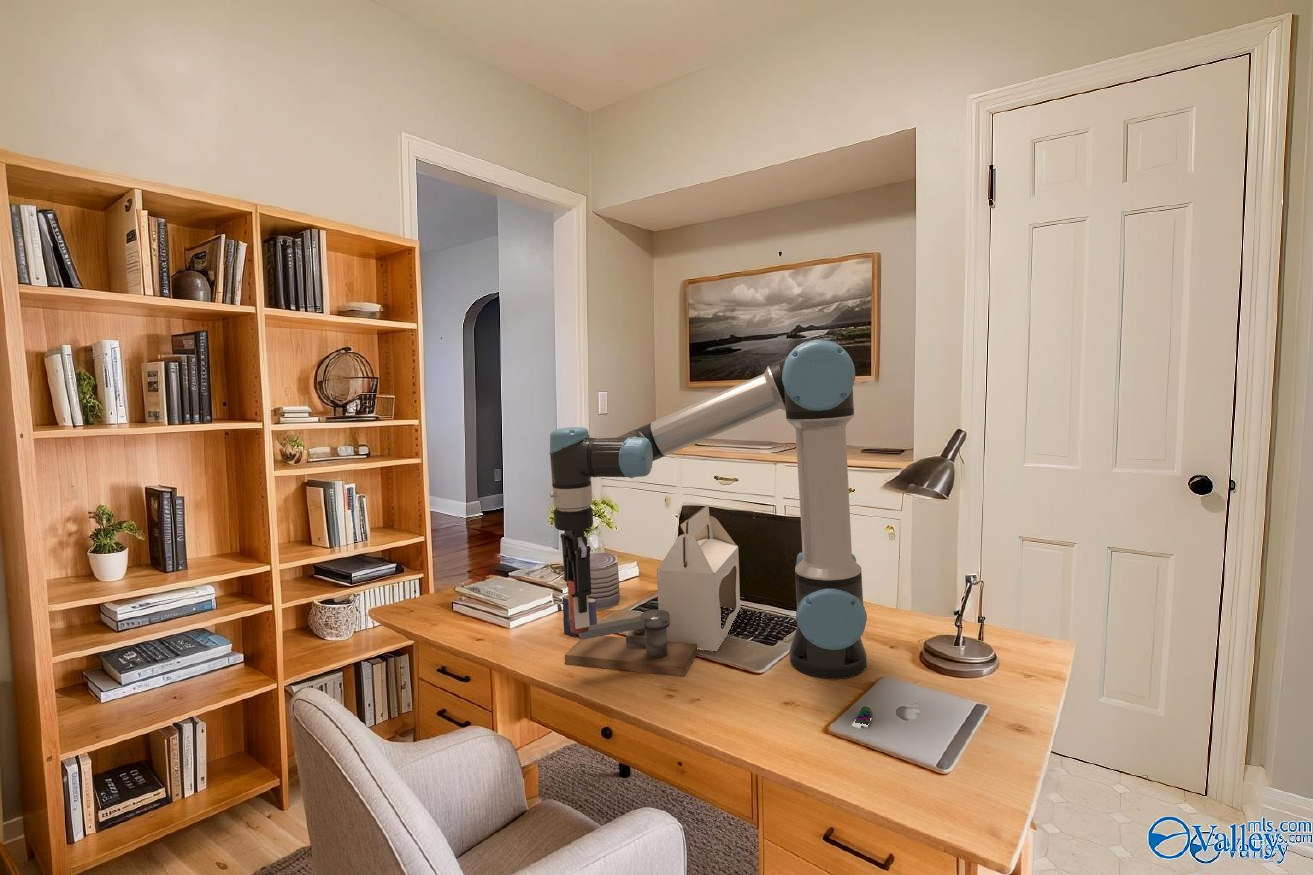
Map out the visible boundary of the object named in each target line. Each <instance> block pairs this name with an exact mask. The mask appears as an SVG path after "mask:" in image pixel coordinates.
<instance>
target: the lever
mask: <svg viewBox="0 0 1313 875" xmlns="http://www.w3.org/2000/svg"><path fill="white" fill-rule="evenodd" d="M571 594H575V589H574V579H570V580H568V587H567V595H569V612H570V629H571V632H572V633H579V637H580V638H579V639H581V640H583V639H589V638H594V637H599V636H611V635H614V634H619V633H624V632H629V631H631V630H636V629H642V628H644V629H647V630H661V629H665V628H667V627H668V626H669V625H670V614H669V613H668V612H667V611H664V610H658V609H651V610H646V611H644V612H642V613H641V614H640V615H639V616H640V617H637V616H635V617H630V618H624V619H623V618H622V619H619V620H613V621H607V622H602V623H597V624H596V625H590V627H585V628H579V629H576V628H575V615H574V598H572V596H571Z"/></svg>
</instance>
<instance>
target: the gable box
mask: <svg viewBox="0 0 1313 875" xmlns="http://www.w3.org/2000/svg"><path fill="white" fill-rule="evenodd" d="M679 527H680V530H681V531H682V533H683V534H680V535H679V536H677V538H676V540H675V541H674V543H672V545H671V547H670V549H669V550H668V553H667V554H666V555H665V557H664V558H663V560H662V562H661V563H660V565H659V567H657V569H656V582H657V606H658V609H657V610H664V611H667V612H668V613H669V614H670V625H669V626H668V627H667V628H666V632H667V641H669V642H680V643H691V644H697V648H701V649H702V648H703V649H710V650H718V648H719V647H720V645H721V643H722V642H723V641H724V642H725V640H724V638H725V637H726V636H727V637H728V635H729V634H728V632H729V630H730V628H731V625H732V623H733V621H734V619H735V618H736V616H737V613H738V612H739V610H740V611H741V595H740V594H741V593H740V590H741V588H740V562H739V561H740V557H739V546H738V545H737V544H736V542H735V541H734V540H733V538H732V537H731V536H730V535H729V533H728V532H727V530H726V529H725V528H724V526H723V525H722V523H721V522H720V520H719V519H718V518H717V517H715V516H714V515H713V516H712V515H710V508H709V505H704V506H703V507H702V508H701V509H699V510H697V511H696V512H695V513H694V514H692V515H691V516H690V517H689V518H687V519H686V520H685V521H684V522H682V523H681V524H680V525H679ZM720 607H727V608H735V609H734V611H733V612H732V613H730V614H729V615H728V617H727V619H726V621H725V624H724V626H723V628H721V608H720ZM729 633H730V632H729ZM727 634H728V635H727ZM727 637H726V638H727ZM724 642H723V643H724ZM723 643H722V644H723ZM721 646H722V645H721ZM720 648H721V647H720ZM720 648H719V649H720ZM718 651H719V650H718Z"/></svg>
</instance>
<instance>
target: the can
mask: <svg viewBox="0 0 1313 875" xmlns="http://www.w3.org/2000/svg"><path fill="white" fill-rule="evenodd" d="M590 574H591V595H588V599H595V600H596V611H602V610H607V609H608V610H609V609H611V608H613V607H616V606H618V605H619V604H620V600H621V598H620V578H619V577H620V576H619V555H618V554H614V553H610V552H606V551H605V552H594V553H590Z"/></svg>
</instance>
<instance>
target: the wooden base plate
mask: <svg viewBox="0 0 1313 875" xmlns="http://www.w3.org/2000/svg"><path fill="white" fill-rule="evenodd" d="M640 616H641V615H639V616H636V617H640ZM696 654H698V650H697V644H691V643H680V642H669V641H667V632H666V628H665V629H661V630H647V629H644V628H642V629H636V630H631V631H628V633H626V634H625V637H624V636H614V635H613V636H611V635H604V636H599V637H594V638H589V639H583V640H581V638H579V640H578V641H577V642H576V643H575V644H574V645H572V647H570V648H569V650H568V651H567V652H565V654H564V664H565V663H568V664H567V665H571V664H574V665H573V666H581V667H589V668H590V667H592V668H600V669H611V670H620V671H629V672H638V673H639V672H640V673H647V674H654V675H655V674H657V675H658V674H659V675H668V676H674V677H685V676H686V674H687V673H688V670H689V669H690V667H691V665H692V663H693V662H694V660H695V658H696V656H697V655H696Z"/></svg>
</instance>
